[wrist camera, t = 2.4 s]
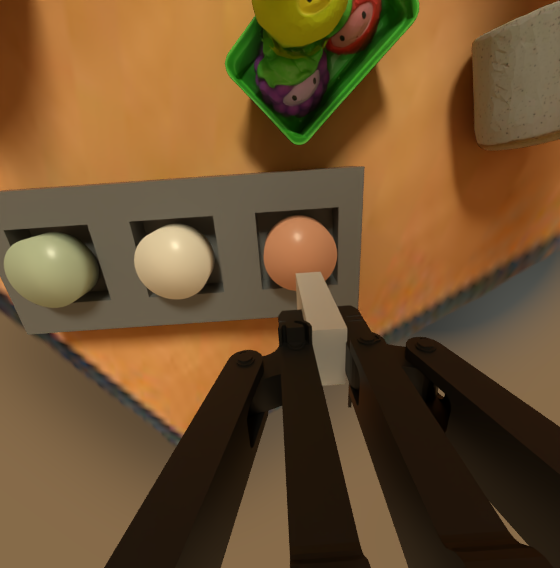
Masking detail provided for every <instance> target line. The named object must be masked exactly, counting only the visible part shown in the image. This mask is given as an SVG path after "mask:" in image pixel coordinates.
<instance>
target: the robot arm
mask: <svg viewBox="0 0 560 568" xmlns="http://www.w3.org/2000/svg"><path fill="white" fill-rule="evenodd" d="M296 293H297V310H286V311H282V312H281V313H280V314H279V316H278V320H279V327H278V334H279V347H278V349H277V350H276V351H275V352H273V353H271V354H269V355H266V356H263V357H262V355H261V354H260V353H258V352H257V351H253V350H244V351H240V352H237V353H235V354H234V355H232V356H231V357H230V358H229V360H228V361H227V363H226V365H225V366H224V368H223V370H222V371H221V373H220V375H219V376H218V378H217V380H216V381H215V383H214V385H213V386H212V388H211V390H210V391H209V393H208V395H207V396H206V398H205V400H204V402H203V403H202V405H201V407H200V408H199V410H198V412H197V413H196V415H195V417H194V418H193V420H192V422H191V423H190V425H189V427H188V428H187V430H186V432H185V433H184V435H183V437H182V438H181V440H180V442H179V443H178V445H177V447H176V448H175V450H174V452H173V453H172V455H171V457H170V458H169V460H168V462H167V463H166V465H165V467H164V468H163V470H162V472H161V474H160V475H159V477H158V479H157V480H156V482H155V484H154V485H153V487H152V489H151V490H150V492H149V494H148V495H147V497H146V499H145V500H144V502H143V504H142V505H141V507H140V509H139V510H138V512H137V514H136V515H135V517H134V519H133V521H132V522H131V524H130V525H129V527H128V529H127V530H126V532H125V534H124V535H123V537H122V539H121V541H120V542H119V544H118V546H117V547H116V549H115V551H114V552H113V554H112V556H111V557H110V559H109V561H108V562H107V564H106V566H105V567H104V568H221V564H222V561H223V558H224V555H225V552H226V548H227V545H228V542H229V539H230V536H231V532H232V529H233V526H234V523H235V519H236V516H237V513H238V509H239V506H240V503H241V500H242V497H243V494H244V490H245V487H246V484H247V481H248V478H249V474H250V471H251V468H252V465H253V461H254V458H255V455H256V452H257V448H258V445H259V442H260V438H261V435H262V432H263V429H264V426H265V422H266V420H267V416H268V410H271V409H273V408H276V407H279V406H282V407H283V426H284V446H285V464H286V465H285V466H286V486H287V505H288V525H289V543H290V544H289V545H290V568H371V567H370V564H369V562H368V559H367V558H366V557H365V556H364V555H363V553H362V550H361V546H360V542H359V538H358V534H357V530H356V526H355V522H354V517H353V513H352V509H351V505H350V500H349V496H348V492H347V488H346V484H345V479H344V475H343V471H342V467H341V463H340V458H339V454H338V450H337V446H336V442H335V437H334V433H333V429H332V425H331V421H330V417H329V412H328V408H327V404H326V400H325V395H324V392H323V387H322V386H327V385H341V384H346V375H347V377H348V380H349V396H348V407H351V402H352V403H353V406H354V409H355V412H356V415H357V418H358V421H359V424H360V427H361V430H362V433H363V436H364V438H365V441H366V444H367V447H368V450H369V453H370V456H371V459H372V462H373V465H374V468H375V471H376V474H377V477H378V480H379V482H380V485H381V488H382V491H383V494H384V497H385V500H386V503H387V506H388V509H389V512H390V514H391V518H392V521H393V524H394V527H395V529H396V532H397V535H398V538H399V541H400V544H401V547H402V550H403V553H404V556H405V559H406V561H407V564H408V568H560V427H559V426H558V425H556V424H555V423H553V422H552V421H551V420H549V419H548V418H546V417H545V416H543V415H542V414H541V413H539V412H538V411H536V410H535V409H533V408H532V407H531V406H529V405H528V404H526V403H525V402H523V401H522V400H520V399H519V398H517V397H516V396H515V395H513V394H512V393H510V392H509V391H508V390H506V389H505V388H503V387H502V386H500V385H499V384H497V383H496V382H495V381H493V380H492V379H490V378H489V377H488V376H486V375H485V374H483V373H482V372H480V371H479V370H478V369H476V368H475V367H473V366H472V365H470V364H469V363H468V362H466V361H465V360H463V359H462V358H460V357H459V356H458V355H456V354H455V353H453V352H452V351H450V350H449V349H447V348H446V347H445V346H443V345H442V344H440V343H439V342H437V341H435V340H432V339H429V338H426V337H414V338H411V339H409V340H408V341H407V342H406V347H402V346H394V345H389V344H386V342H385V340H384V339H383V338H382V337H381V336H380V335H378V334H376V333H372V332H371V330H370V329H369V327H368V325H367V324H366V322H365V320H364V319H363V317H362V316H361V314H360V312H359V311H358V309H356V308H355V307H353V306H351V305H346V306H337V305H336V303H335V301H334V299H333V297H332V295H331V293H330V291H329V288H328V286H327V284H326V282H325V280H324V278H323V276H322V274H321V272H308V273H296ZM438 388H439V389H440V390H442V391H443V392H444V393H445V396H444V397H443V396H441V395H440V394H439V393H438ZM489 501H490V502H489ZM491 504H492V505H493V506H494V507H495V508H496V509H497V510H498V511H499V513H500V514H501V515H502V516H503V517H504V518H505V519H506V520H507V522H508V523H509V524H510V525H511V526H512V527H513V528H514V529H515V531H516V532H517V533H518V534H519V535H520V536H521V537H522V538H523V540H525V542H526V543H527V544H528V545H529V546H527V545H524V544H520V543H519V542H518V541H516V540H515V539H514V538H513V536H512V535H511V534H510V532H509V531H508V530H507V528H506V527H505V525H504V523H503V522H502V520H501V519H500V518H499V516H498V514H497V513H496V511H495V510H494V508H493V507H492V505H491Z"/></svg>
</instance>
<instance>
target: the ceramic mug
mask: <svg viewBox="0 0 560 568" xmlns="http://www.w3.org/2000/svg"><path fill="white" fill-rule="evenodd" d="M472 64H473V96H474V131H475V135H476V140H477V143H478V145H479V146H480V147H481V148H483V149H484V150H490V151H497V150H508V149H516V148H522V147H527V146H533V145H538V144H542V143H546V142H550V141H554V140H558V139H560V1H557V2H554V3H552V4H549V5H546V6H544V7H542V8H539V9H537V10H535V11H533V12H531V13H529V14H527V15H524V16H521V17H519V18H516V19H514V20H512V21H510V22H508V23H506V24H504V25H502V26H500V27H497V28H495V29H493V30H491V31H490V32H487V33H485V34H484V35H482V36H480V37H479V38H477V39H476V40H475V41H474V42H473V44H472Z"/></svg>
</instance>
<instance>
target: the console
mask: <svg viewBox="0 0 560 568" xmlns="http://www.w3.org/2000/svg"><path fill="white" fill-rule="evenodd" d="M363 188H364V167H360V166H349V167H334V168H320V169H305V170H291V171H277V172H262V173H248V174H233V175H219V176H204V177H190V178H176V179H161V180H147V181H132V182H118V183H103V184H89V185H75V186H60V187H46V188H31V189H17V190H3V191H0V277H1V279H2V281H3V283H4V285H5V287H6V289H7V292H8V294H9V296H10V298H11V300H12V302H13V304H14V307H15V309H16V311H17V313H18V315H19V317H20V319H21V321H22V324H23V326H24V328H25V330H26V332H27V334H41V333H55V332H70V331H84V330H99V329H114V328H128V327H143V326H157V325H172V324H187V323H201V322H216V321H230V320H245V319H259V318H274V317H278V316H279V314H280V313H281V312H282V311H286V310H297V293H296V291H293V290H288V289H286V288H283V287H281V286H280V285H278V284H277V283H276V282H274V281H273V280H272V278H271V277H270V276H269V274H268V273H267V270H266V268H265V265H264V246H265V240H266V237H267V235H268V233H269V231H270V230H271V228H272V227H273V226H274V225H275V224H276V223H277V222H279V221H280V220H282V219H284V218H286V217H289V216H294V215H304V216H309V217H311V218H314V219H316V220H317V221H319V222H320V223H321V224H322V225H323V226H324V227H325V228H326V229H327V231H328V232H329V233H330V234H331V236H332V237H333V239H334V241H335V244H336V248H337V261H336V265H335V268H334V270H333V272H332V273H331V275H330V276H329V277H328V279H327V280H326V281H325V282H326V284H327V286H328V288H329V291H330V293H331V295H332V297H333V299H334V301H335V303H336V305H337V306H346V305H351V306H353V307H355V308H356V309H358V299H359V277H360V254H361V232H362V210H363ZM169 224H185V225H188V226H191V227H193V228H195V229H197V230H198V231H200V232H201V233H202V234H203V235H204V236H205V237H206V238H207V239H208V241H209V242H210V244H211V246H212V248H213V251H214V257H215V263H214V268H213V271H212V273H211V275H210V276H209V278H208V280H207V282H206V284H205V285H204V287H203V288H202V289H201V290H200V291H199V292H198V293H196V294H195V295H193V296H191V297H189V298H185V299H168V298H164V297H161V296H159V295H157V294H155V293H153V292H152V291H151V290H149V289H148V288H147V287H146V286H145V285H144V284H143V283H142V281H141V280H140V278H139V277H138V275H137V272H136V269H135V265H134V255H135V251H136V248H137V246H138V244H139V243H140V241H141V240H142V239H143V238H144V237H146V236H147V235H149V234H150V233H152V232H154V231H155V230H157V229H159V228H161V227H163V226H165V225H169ZM48 232H60V233H65V234H68V235H71V236H73V237H75V238H77V239H78V240H80V241H81V242H83V243H84V244H85V245H86V246H87V247H88V248H89V249H90V250H91V252H92V253H93V255H94V256H95V258H96V260H97V263H98V267H99V277H98V280H97V283H96V284H95V286H94V287H93V288H92V289H91V290H90V291H89V292H87V293H86V294H84V295H83V296H81V297H80V298H78V299H77V300H76V301H74V302H73V303H71V304H69V305H67V306H64V307H59V308H49V307H43V306H40V305H37V304H35V303H32V302H30V301H29V300H27V299H25V298H24V297H23V296H21V295H20V294H19V293H18V292H17V291H16V290H15V289H14V288H13V287H12V285H11V284H10V282H9V280H8V278H7V276H6V274H5V270H4V258H5V254H6V252H7V251H8V249H9V248H10V247H11V246H12V245H13V244H15V243H16V242H19V241H21V240H25V239H28V238H31V237H34V236H38V235H41V234H44V233H48Z"/></svg>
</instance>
